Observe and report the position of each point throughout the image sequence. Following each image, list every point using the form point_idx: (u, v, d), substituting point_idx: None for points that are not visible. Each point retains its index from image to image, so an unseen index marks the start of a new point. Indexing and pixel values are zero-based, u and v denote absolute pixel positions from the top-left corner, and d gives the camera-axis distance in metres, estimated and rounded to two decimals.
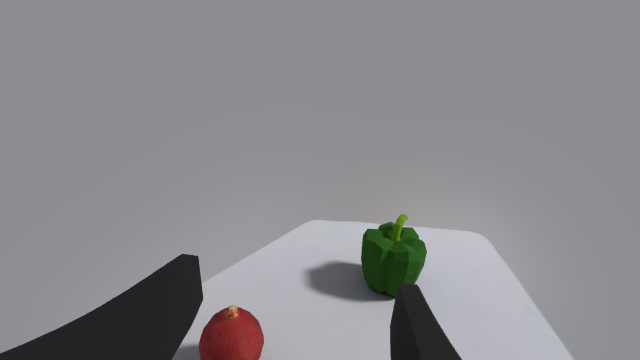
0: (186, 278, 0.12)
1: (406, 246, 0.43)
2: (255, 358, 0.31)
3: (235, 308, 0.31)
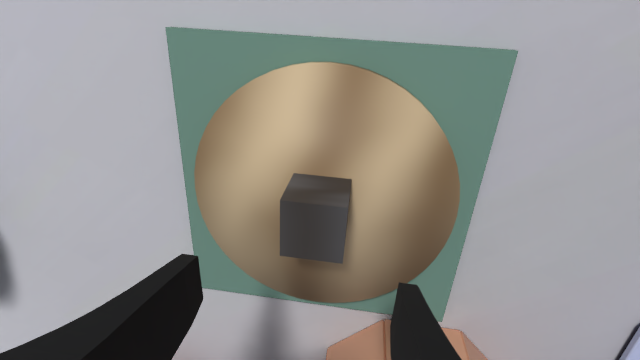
0: (186, 278, 0.12)
1: None
2: None
3: None
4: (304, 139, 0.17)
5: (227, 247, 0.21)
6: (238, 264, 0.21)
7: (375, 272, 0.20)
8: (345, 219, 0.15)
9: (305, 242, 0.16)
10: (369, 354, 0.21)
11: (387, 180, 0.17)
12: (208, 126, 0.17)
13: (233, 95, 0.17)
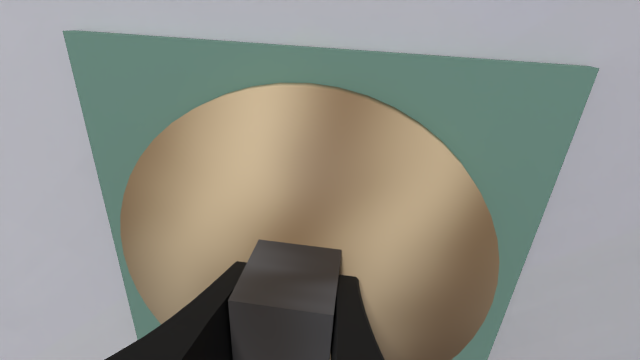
0: None
1: None
2: None
3: None
4: (272, 195, 0.12)
5: None
6: None
7: None
8: (329, 330, 0.10)
9: (270, 357, 0.11)
10: None
11: (392, 253, 0.12)
12: (133, 174, 0.12)
13: (165, 132, 0.11)
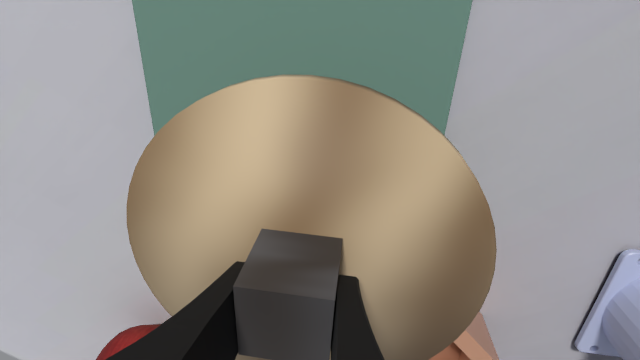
0: None
1: None
2: None
3: None
4: (274, 185, 0.12)
5: None
6: None
7: None
8: (331, 315, 0.10)
9: (274, 341, 0.11)
10: None
11: (392, 242, 0.12)
12: (139, 165, 0.12)
13: (170, 123, 0.11)
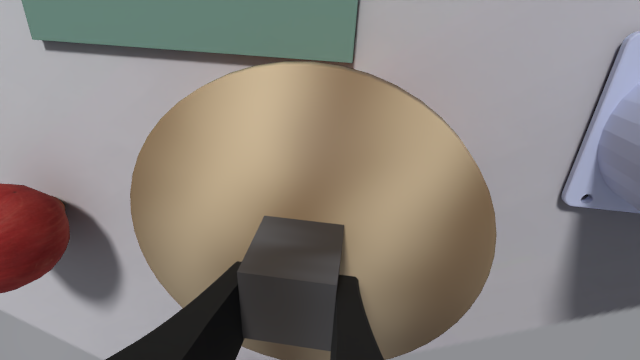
0: None
1: None
2: (9, 196, 0.18)
3: None
4: (276, 172, 0.12)
5: (184, 300, 0.16)
6: None
7: (376, 335, 0.15)
8: (333, 299, 0.10)
9: (277, 325, 0.11)
10: None
11: (393, 228, 0.12)
12: (142, 153, 0.12)
13: (171, 111, 0.11)
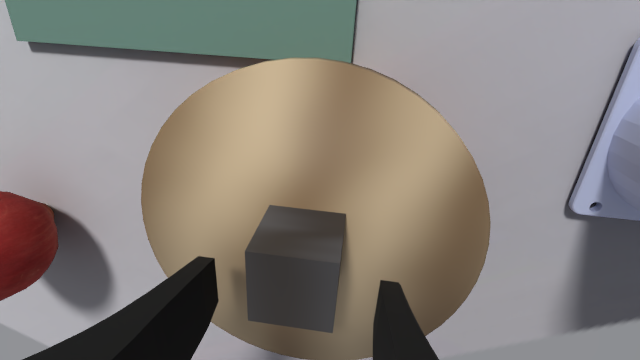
0: (203, 280, 0.12)
1: None
2: None
3: None
4: (282, 162, 0.13)
5: None
6: None
7: None
8: (336, 278, 0.11)
9: (282, 306, 0.12)
10: None
11: (392, 216, 0.13)
12: (155, 143, 0.13)
13: (185, 103, 0.12)
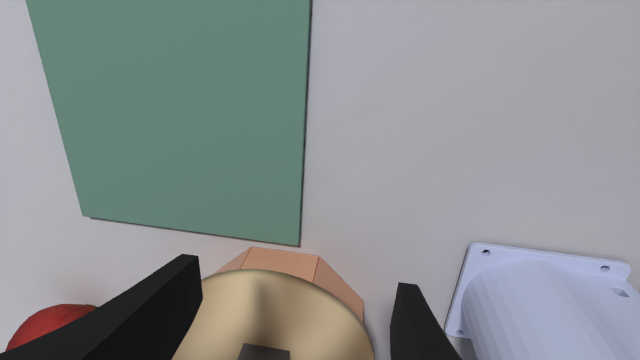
0: (186, 278, 0.12)
1: None
2: (64, 321, 0.26)
3: None
4: (250, 323, 0.21)
5: None
6: None
7: None
8: None
9: None
10: None
11: (317, 354, 0.22)
12: None
13: None
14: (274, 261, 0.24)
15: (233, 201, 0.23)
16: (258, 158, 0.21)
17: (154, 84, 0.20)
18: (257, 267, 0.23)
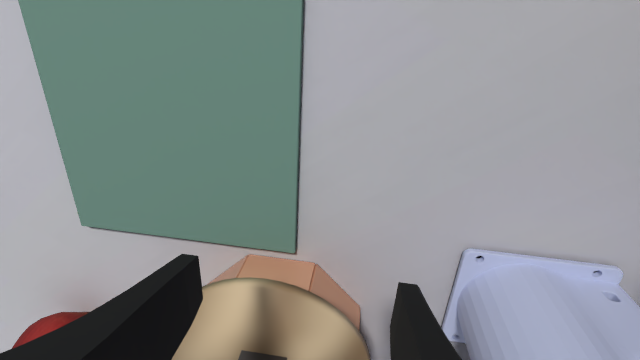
0: (186, 278, 0.12)
1: None
2: None
3: None
4: (248, 330, 0.22)
5: None
6: None
7: None
8: None
9: None
10: None
11: None
12: None
13: None
14: (271, 268, 0.24)
15: (230, 210, 0.23)
16: (254, 168, 0.22)
17: (150, 97, 0.21)
18: (254, 275, 0.23)
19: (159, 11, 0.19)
